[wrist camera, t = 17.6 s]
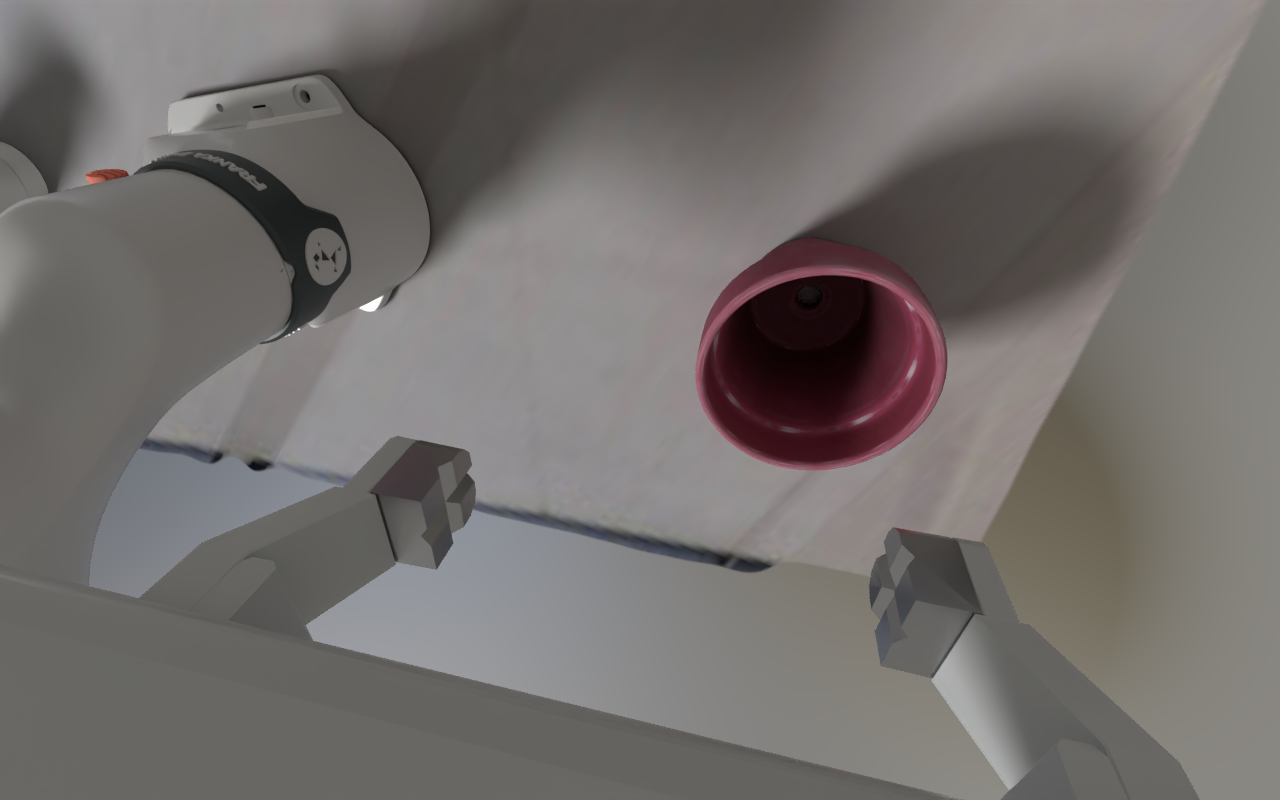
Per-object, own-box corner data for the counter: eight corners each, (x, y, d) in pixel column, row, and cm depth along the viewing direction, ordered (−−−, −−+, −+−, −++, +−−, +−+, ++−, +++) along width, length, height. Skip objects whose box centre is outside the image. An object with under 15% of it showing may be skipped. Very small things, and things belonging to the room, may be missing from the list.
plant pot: (814, 404, 48) (824, 508, 37) (679, 314, 46) (651, 398, 35) (950, 275, 40) (1011, 361, 29) (794, 160, 38) (801, 209, 27)
